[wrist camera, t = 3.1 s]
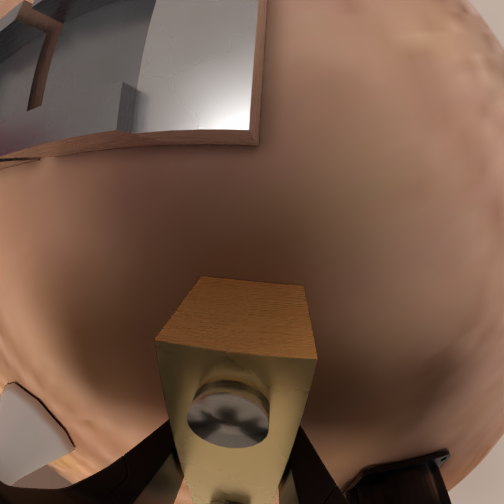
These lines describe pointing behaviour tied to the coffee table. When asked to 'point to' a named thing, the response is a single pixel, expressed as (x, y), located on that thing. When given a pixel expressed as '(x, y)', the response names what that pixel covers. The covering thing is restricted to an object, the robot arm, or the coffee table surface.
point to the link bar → (236, 385)
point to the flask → (27, 435)
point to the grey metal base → (129, 75)
